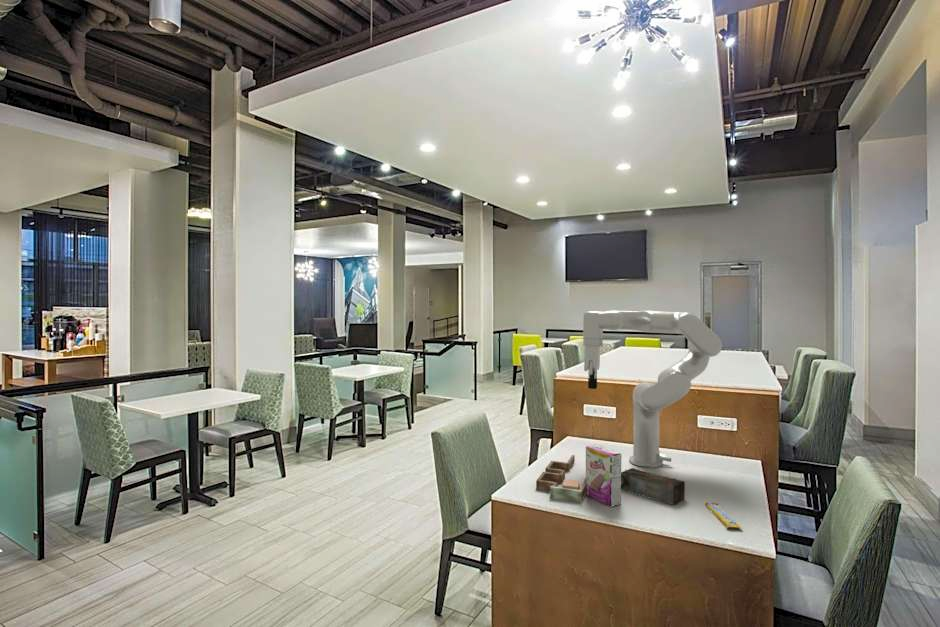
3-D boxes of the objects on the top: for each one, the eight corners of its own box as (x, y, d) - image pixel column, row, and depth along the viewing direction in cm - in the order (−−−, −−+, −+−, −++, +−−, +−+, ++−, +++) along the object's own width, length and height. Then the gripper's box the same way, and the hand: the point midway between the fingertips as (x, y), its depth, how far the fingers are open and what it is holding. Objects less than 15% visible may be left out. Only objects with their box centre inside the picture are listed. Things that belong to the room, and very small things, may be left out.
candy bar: (703, 507, 155) (703, 501, 155) (717, 507, 154) (717, 501, 154) (727, 532, 138) (727, 525, 138) (743, 532, 138) (743, 526, 138)
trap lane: (598, 465, 192) (598, 456, 192) (581, 502, 157) (581, 491, 157) (557, 460, 198) (557, 451, 198) (531, 495, 163) (532, 484, 163)
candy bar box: (584, 495, 162) (584, 446, 162) (595, 492, 165) (595, 443, 165) (610, 507, 153) (611, 455, 153) (621, 504, 156) (622, 452, 155)
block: (579, 492, 166) (579, 480, 166) (577, 499, 160) (578, 486, 160) (564, 490, 167) (564, 478, 167) (562, 497, 162) (562, 485, 161)
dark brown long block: (631, 483, 174) (631, 465, 174) (686, 500, 160) (686, 479, 159) (619, 489, 168) (619, 470, 168) (675, 507, 154) (675, 486, 154)
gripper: (586, 340, 205) (586, 384, 205) (580, 343, 191) (579, 390, 191) (605, 341, 202) (604, 386, 202) (600, 344, 188) (599, 392, 189)
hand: (592, 388), depth 197 cm, fingers closed
